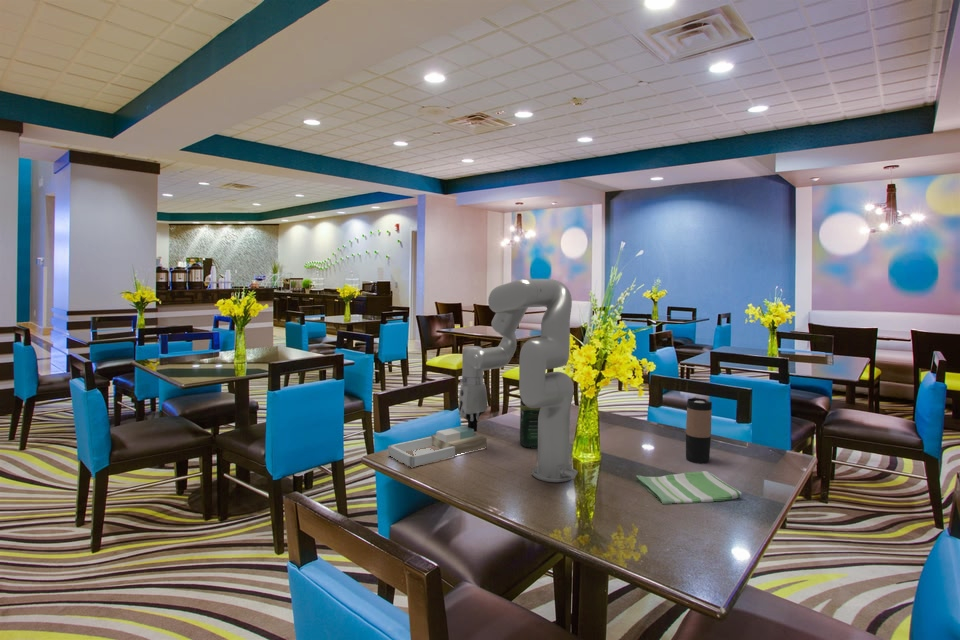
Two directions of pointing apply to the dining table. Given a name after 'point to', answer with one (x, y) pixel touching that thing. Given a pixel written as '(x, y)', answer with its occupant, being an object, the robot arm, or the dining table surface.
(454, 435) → the white tile
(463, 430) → the teal tile
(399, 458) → the tray
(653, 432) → the dining table surface
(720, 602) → the dining table surface
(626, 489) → the dining table surface
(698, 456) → the travel mug
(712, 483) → the dish towel
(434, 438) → the birch board
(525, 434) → the coffee jar
